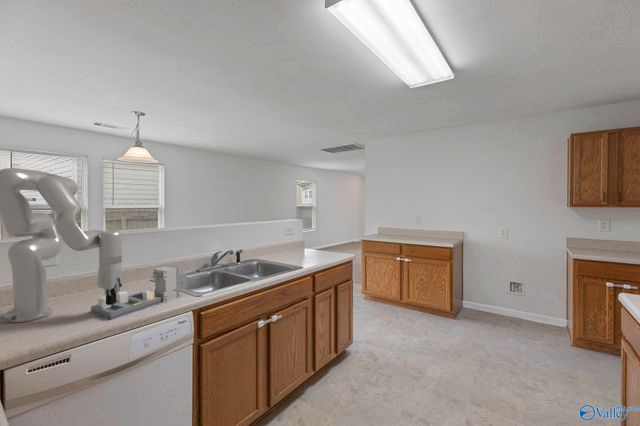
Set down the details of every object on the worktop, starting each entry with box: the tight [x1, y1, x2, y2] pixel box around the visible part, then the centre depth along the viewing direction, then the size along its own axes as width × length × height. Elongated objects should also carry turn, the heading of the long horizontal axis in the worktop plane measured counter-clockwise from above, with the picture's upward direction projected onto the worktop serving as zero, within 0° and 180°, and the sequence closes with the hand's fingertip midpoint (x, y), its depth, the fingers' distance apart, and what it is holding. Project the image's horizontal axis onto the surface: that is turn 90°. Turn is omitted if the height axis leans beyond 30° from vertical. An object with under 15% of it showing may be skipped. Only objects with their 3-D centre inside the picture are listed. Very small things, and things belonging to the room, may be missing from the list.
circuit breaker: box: [152, 265, 188, 303], centre depth 139 cm, size 8×14×15 cm, turn 155°
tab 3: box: [142, 288, 155, 300], centre depth 129 cm, size 4×3×5 cm
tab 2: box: [116, 290, 129, 304], centre depth 127 cm, size 4×3×5 cm
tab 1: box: [97, 295, 111, 309], centre depth 120 cm, size 4×3×5 cm
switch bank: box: [90, 291, 162, 320], centre depth 125 cm, size 21×15×3 cm
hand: (111, 303), depth 118 cm, fingers closed
